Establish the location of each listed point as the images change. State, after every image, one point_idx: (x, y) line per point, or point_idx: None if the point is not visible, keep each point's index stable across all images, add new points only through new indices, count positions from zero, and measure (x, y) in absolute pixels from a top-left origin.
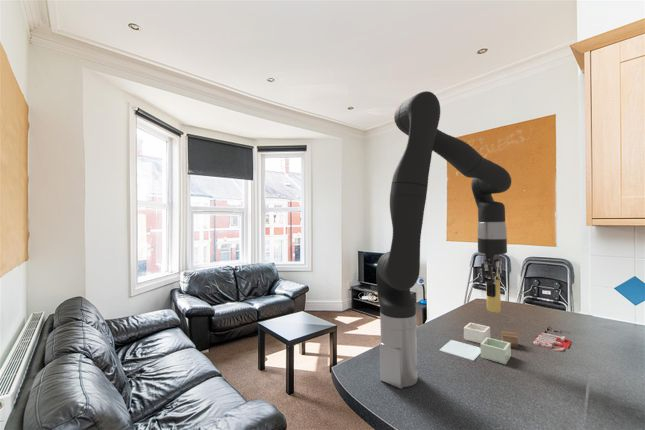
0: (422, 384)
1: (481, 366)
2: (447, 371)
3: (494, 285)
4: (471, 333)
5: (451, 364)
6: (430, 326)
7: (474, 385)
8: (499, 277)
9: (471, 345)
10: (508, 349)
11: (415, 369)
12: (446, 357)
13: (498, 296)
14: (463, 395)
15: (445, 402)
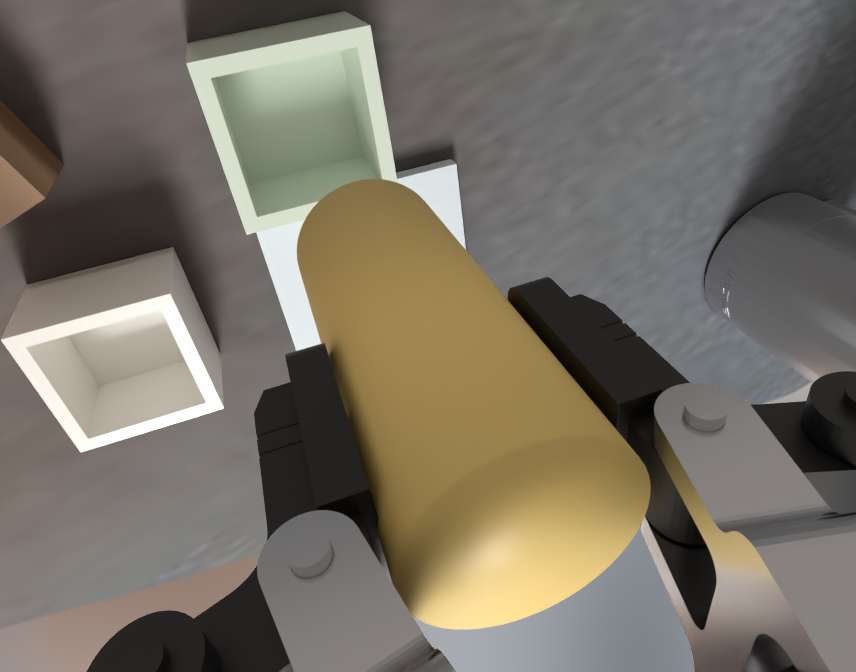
0: (765, 178)
1: (455, 110)
2: (616, 184)
3: (652, 381)
4: (204, 351)
5: (542, 215)
6: (210, 546)
7: (664, 28)
8: (331, 597)
9: (276, 282)
10: (264, 41)
11: (825, 215)
12: (491, 272)
13: (459, 268)
14: (766, 18)
15: (842, 41)
